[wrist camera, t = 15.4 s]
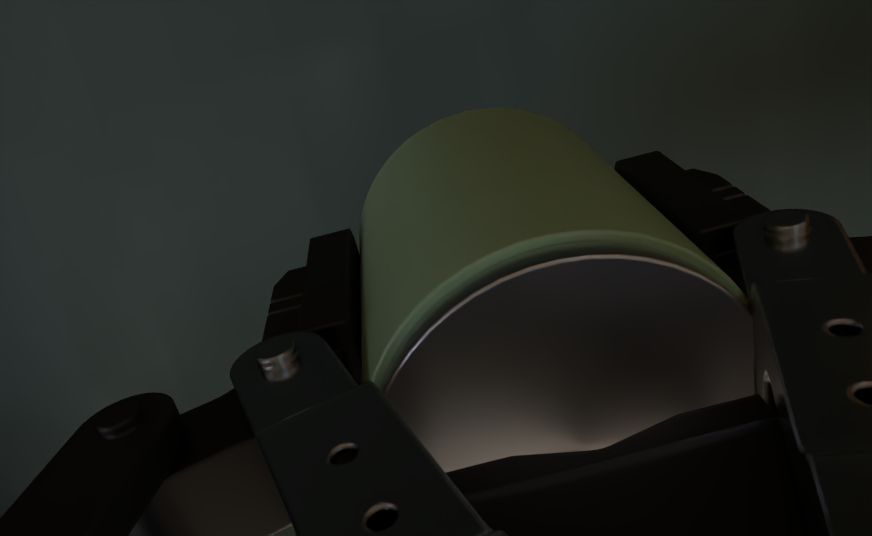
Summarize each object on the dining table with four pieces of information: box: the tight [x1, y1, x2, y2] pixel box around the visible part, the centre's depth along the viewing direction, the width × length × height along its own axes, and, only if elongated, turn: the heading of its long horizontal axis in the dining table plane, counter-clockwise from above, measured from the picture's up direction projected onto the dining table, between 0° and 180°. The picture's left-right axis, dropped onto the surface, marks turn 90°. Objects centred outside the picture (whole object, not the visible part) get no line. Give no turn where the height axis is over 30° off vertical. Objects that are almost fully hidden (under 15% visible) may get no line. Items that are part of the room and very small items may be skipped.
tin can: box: [359, 108, 757, 473], centre depth 11 cm, size 5×5×6 cm
